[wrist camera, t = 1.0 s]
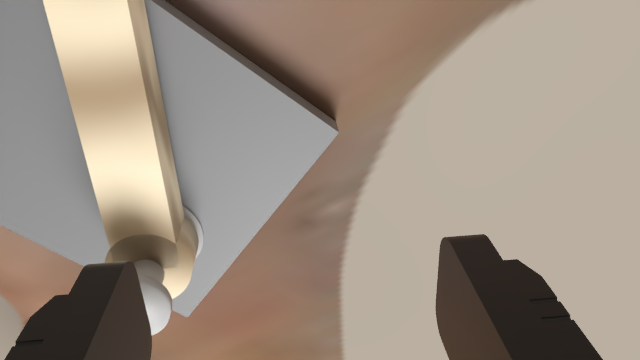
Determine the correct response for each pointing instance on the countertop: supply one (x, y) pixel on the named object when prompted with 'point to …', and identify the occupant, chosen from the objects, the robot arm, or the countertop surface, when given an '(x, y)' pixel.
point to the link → (124, 132)
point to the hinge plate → (185, 136)
